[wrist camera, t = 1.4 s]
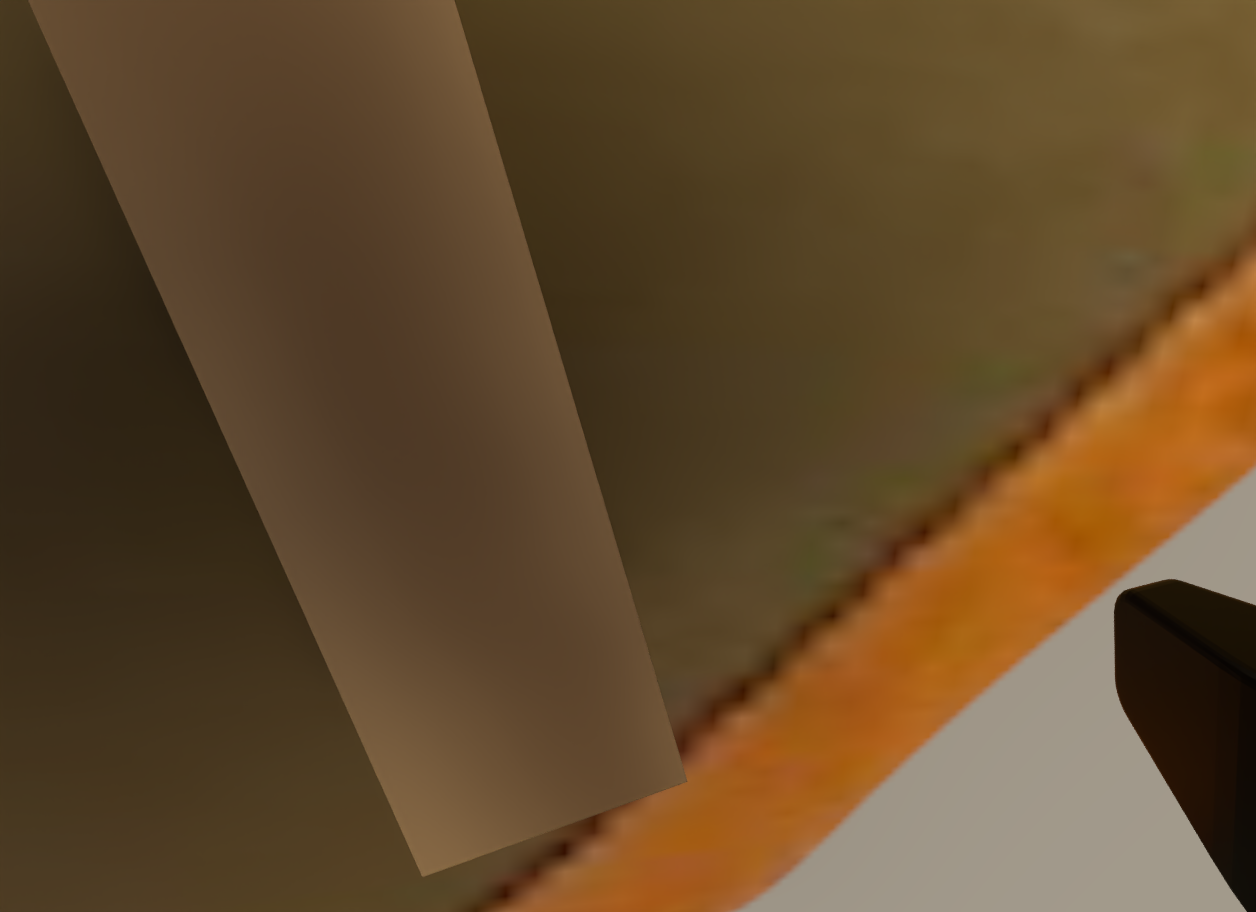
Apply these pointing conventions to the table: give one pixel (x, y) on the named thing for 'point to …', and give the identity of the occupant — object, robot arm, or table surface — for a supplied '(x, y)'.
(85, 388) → the table surface
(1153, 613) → the robot arm
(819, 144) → the table surface
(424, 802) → the brown slab
